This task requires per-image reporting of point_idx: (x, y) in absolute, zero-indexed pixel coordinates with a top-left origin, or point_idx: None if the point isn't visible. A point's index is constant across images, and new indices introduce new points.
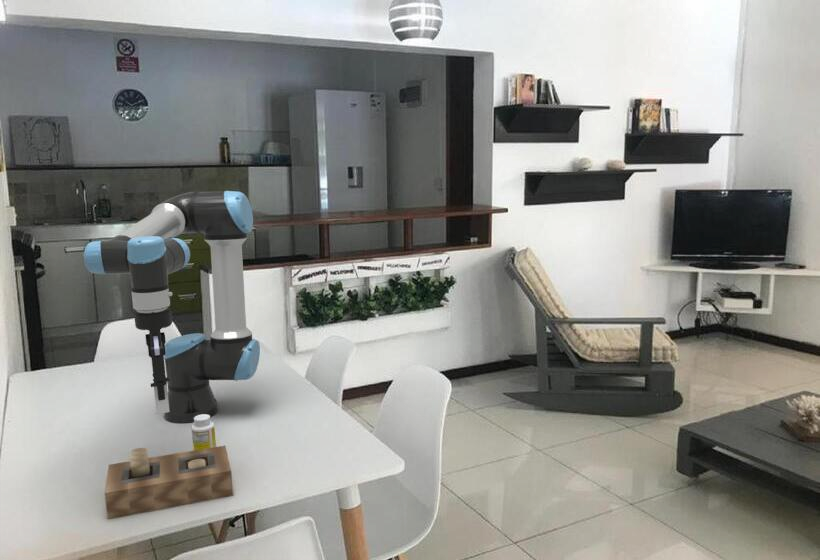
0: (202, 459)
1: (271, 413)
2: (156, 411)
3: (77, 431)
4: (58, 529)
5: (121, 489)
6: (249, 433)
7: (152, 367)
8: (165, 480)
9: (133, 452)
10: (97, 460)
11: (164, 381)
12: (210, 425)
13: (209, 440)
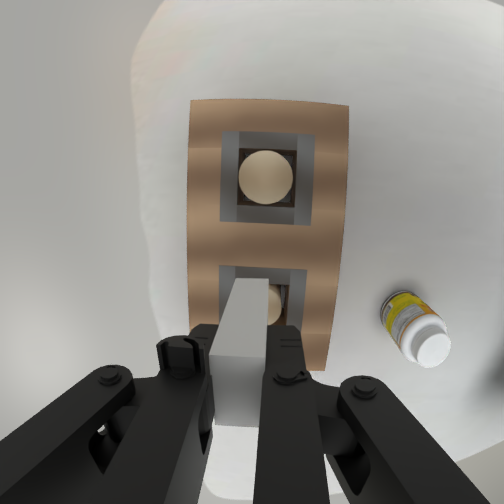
0: (272, 321)
1: (469, 409)
2: (234, 282)
3: None
4: (207, 39)
5: (192, 134)
6: (431, 383)
7: (376, 445)
8: (197, 233)
9: (266, 162)
10: (465, 109)
11: (101, 435)
12: (410, 358)
13: (392, 337)
